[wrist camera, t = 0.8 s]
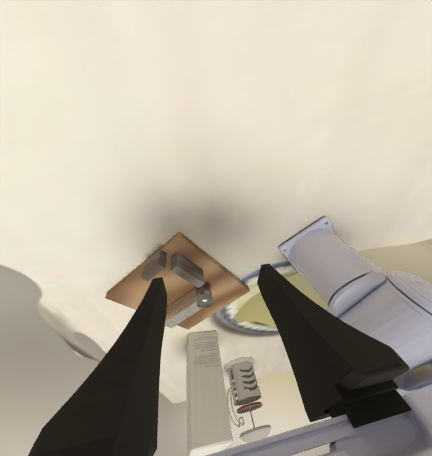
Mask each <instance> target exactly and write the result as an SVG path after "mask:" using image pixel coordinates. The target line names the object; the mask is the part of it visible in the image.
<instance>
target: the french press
mask: <svg viewBox="0 0 432 456" xmlns="http://www.w3.org/2000/svg"><path fill="white" fill-rule="evenodd" d="M253 361H254V359H253V358H251V357H243V358H238V359H235V360H232V361H230V362H229V363H227V364H226V365H225V366H224V369H225V370H227V371H228V374H229V379H230V385H231V387H230V389H231V394H232V395H233V401H234V405H244V404H247V405H244V406H242V407H240V408H239V409H238V410H237V413H245V412H247V411H250V413H251V411H253V410H254V409H255V410H256V408H260V407H261V406H262V403H261V402H254V401H256V400H258V399H260V398H261V393H260V390H259V386H257V379H255V378H256V376H255V374H254V369H252V367H253V366H252V364H253ZM241 375H244V376H241ZM233 379H234V382H233V381H232V380H233ZM242 380H243V381H242ZM233 385H234V386H235V388H234V386H233ZM230 389H229V390H230ZM245 389H249V391H248V390H245ZM229 390H228V393H229ZM234 391H236V392H237V393H236V394H235V392H234ZM228 393H227V406H228ZM236 397H238V400H236ZM230 400H231V406H232V399H230ZM251 402H254V403H251ZM248 403H250V404H248ZM232 410H233V406H232ZM228 412H229V408H228ZM233 413H234V411H233ZM229 415H230V412H229ZM234 415H235V413H234ZM230 417H231V415H230ZM235 417H236V415H235ZM251 417H252V415H251ZM241 418H242V420H243V417H240V418H239V420H240V419H241ZM236 419H237V418H236ZM231 420H232V422H233V423H234V424H235V422H234V421H233V419H232V417H231ZM237 420H238V419H237ZM239 420H238V422H239V426H238V425H237V424H235V425H236V426H237V427H240V424H241V425H244V420H243V424H242V423H241V422H240V421H239ZM252 422H253V419H252ZM253 426H254V422H253ZM270 429H271V426H270V425H264V426H260V427H256V428H255V427H254V428H253V429H250V430H247V431H245V432H243V433H241V435H240V438H241V439H242V440H243V441H245V442H247V443H250V442H253V441H257V440H260V439H264V438H266V437H267V435H268V434H269V432H270Z"/></svg>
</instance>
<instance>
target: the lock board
mask: <svg viewBox="0 0 432 456" xmlns="http://www.w3.org/2000/svg"><path fill="white" fill-rule="evenodd" d="M160 277H163V280H164V284H165V288H166V292H167V307H168V306H169V305H171V304H172V303H174V302H175V301H177V300H178V299H179V298H181V297H182V296H184V295H185V294H187V293H188V292H190V291H191V290H192V289H194V288H195V287H198V288H199V287H201V286H202V285H204V284H205V282H207V283H209V284H210V286H211V292H212V297H213V304H212V306H210V307H208V308H202V309H200V310H199V311H197V312H196V313H194V314H193V315H191V316H189V317H188V318H186V319H185V320H183V321H182V322H180V323H179V324H177V325H178V326H181V327H183V328H186V329H190V328H191V327H193V326H195V325H196V324H198V323H199V322H201V321H203V320H204V319H206V318H207V317H209V316H211V315H212V314H214V313H215V312H217V311H219V310H220V309H222V308H223V307H225V306H227V305H228V304H230V303H231V302H233V301H235V300H236V299H238V298H239V297H241V296H243V295H244V294H246V293H247V292H249V291H250V290H249V288H248V286H247V285H246V284H245V283H243V282H242V281H241V280H239V279H238V278H237V277H236V276H234V275H233V274H232V273H231V272H229V271H228V270H227V269H225V268H224V267H223V266H222V265H220V264H219V263H218V262H217V261H215V260H214V259H213V258H211V257H210V256H209V255H208V254H206V253H205V252H204V251H203V250H201V249H200V248H199V247H198V246H196V245H195V244H194V243H192V242H191V241H190V240H189V239H187V238H186V237H185V236H184V235H182V234H181V233H180V232H179V233H178V234H177V235H176V236H175V237H173V238H172V239H171V240H170V241H169V242H167V243H166V244H165V245H164V246H163V247H161V248H160V249H159V250H158V251H157V252H155V253H154V254H153V255H152V256H150V257H149V258H148V259H147V260H146V261H144V262H143V263H142V264H141V265H140V266H138V267H137V268H136V269H135V270H134V271H132V272H131V273H130V274H129V275H128V276H126V277H125V278H124V279H123V280H121V281H120V282H119V283H118V284H117V285H115V286H114V287H113V288H112V289H111V290H109V291H108V292H107V295H106V297H105V298H106V299H109V300H112V301H114V302H117V303H120V304H122V305H125V306H128V307H130V308H133V309H136V310H137V308H138V306H139V305H140V303H141V301H142V299H143V297H144V295H145V293H146V292H147V290H148V287H149V285H150V283H151V281H152V279H153V278H160Z"/></svg>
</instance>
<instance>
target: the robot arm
mask: <svg viewBox="0 0 432 456" xmlns="http://www.w3.org/2000/svg"><path fill="white" fill-rule="evenodd" d="M279 249H280V250H281V252H282V253H283V254H284V255H285V257H286V258H287V259H288V261H289V262H290V263H291V264H292V266H293V267H294V268H295V269H296V271H297V272H298V273H299V275H304V277H305V278H306V279H307V280H308V282H309V283H310V284H311V285H312V287H313V288H314V289H315V290H316V292H317V293H318V294H319V295H320V297H321V298H322V299H323V300H324V302H325V303H326V304H327V305H328V309H327V310H324V309H323V308H322V307H320V306H319V305H317V304H316V303H315V302H313V301H312V300H311V299H309V298H308V297H307V296H305V295H304V294H303V293H302V292H300V291H299V290H298V289H297V288H295V287H294V286H293V285H292V284H291V283H290V282H289V281H287V280H286V279H285V278H284V277H283V276H282V275H281V274H280V273H279V272H277V271H276V270H275V269H274V268H273V267H272V266H271V265H270V264H264V265H261V269H260V273H259V278H258V282H257V283H258V286H259V289H260V292H261V295H262V297H263V299H264V301H265V303H266V305H267V307H268V309H269V311H270V314H271V316H272V318H273V320H274V322H275V324H276V326H277V329H278V331H279V333H280V336H281V338H282V341H283V344H284V346H285V349H286V352H287V355H288V358H289V360H290V363H291V366H292V369H293V372H294V375H295V378H296V381H297V384H298V388H299V391H300V394H301V398H302V401H303V404H304V408H305V411H306V413H307V416H308V418H309V420H310V422H313V421H317V420H320V419H323V418H327V417H330V416H331V419H328V420H324V421H322V422H318V423H314V424H311V425H308V426H304V427H301V428H298V429H294V430H291V431H287V432H284V433H281V434H277V435H274V436H270V437H267V438H264V439H260V440H257V441H253V442H250V443H247V444H243V445H240V446H236V447H233V448H230V449H226V450H223V451H219V452H216V453H213V454H209V455H206V456H291V455H294V454H297V453H299V452H303V451H306V450H309V449H312V448H315V447H319V446H322V445H325V444H328V443H330V452H329V453H327V454H323V455H319V456H432V284H430V283H428V282H427V281H425V280H423V279H421V278H419V277H417V276H415V275H413V274H411V273H408V272H405V271H395V270H392V271H390V272H389V273H386V272H384V271H383V270H381V269H380V268H379V267H377V266H376V265H375V264H373V263H372V262H371V261H369V260H368V259H366V258H365V257H364V256H362V255H361V254H360V253H358V252H357V251H356V250H354V249H353V248H352V247H350V246H349V245H347V244H346V243H345V242H343V241H342V240H341V239H339V238H338V237H337V236H335V233H334V231H333V228H332V226H331V224H330V221H329V219H328V218H327V217H323V218H322V219H320V220H319V221H317V222H316V223H314V224H313V225H311V226H310V227H308V228H307V229H305V230H304V231H302V232H301V233H299V234H298V235H296V236H295V237H293V238H292V239H290V240H289V241H287V242H286V243H284V244H283V245H281V246H280V247H279ZM166 313H167V292H166V288H165V284H164V280H163V277H160V278H153V279H152V281H151V283H150V285H149V287H148V290H147V292H146V293H145V295H144V297H143V299H142V301H141V303H140V305H139V306H138V308H137V310H136V312H135V313H134V315H133V316H132V318H131V320H130V321H129V323H128V324H127V326H126V328H125V329H124V331H123V332H122V333H121V335H120V336H119V338H118V339H117V341H116V342H115V343H114V345H113V346H112V347H111V349H110V350H109V351H108V353H107V354H106V355H105V357H104V358H103V359H102V361H101V362H100V363H99V364H98V366H97V367H96V368H95V370H94V371H93V372H92V373H91V374H90V375H89V377H88V378H87V379H86V380H85V381H84V383H83V384H82V385H81V386H80V387H79V388H78V390H77V391H76V392H75V393H74V394H73V395H72V396H71V398H70V399H69V400H68V401H67V402H66V403H65V404H64V405H63V406H62V407H61V409H60V410H59V411H58V412H57V413H56V414H55V415H54V416H53V418H51V419H50V421H49V422H48V423H47V424H46V425H45V426H44V427H43V428H42V430H41V432H40V434H39V436H38V438H37V440H36V441H35V443H34V445H33V447H32V449H31V451H30V453H29V455H28V456H153V455H154V453H155V451H156V449H157V427H158V426H157V425H158V397H159V395H158V394H159V376H160V359H161V348H162V341H163V334H164V327H165V320H166Z"/></svg>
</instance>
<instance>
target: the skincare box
mask: <svg viewBox="0 0 432 456" xmlns="http://www.w3.org/2000/svg"><path fill="white" fill-rule="evenodd" d="M186 352H187V456H206V455H209V454H213V453H216V452H219V451H223V450H224V449H225V448H226V447H227V446H228V445H229V444H230V443H231V442H233V439H232V433H231V426H230V420H229V413H228V406H227V399H226V393H225V386H224V379H223V373H222V366H221V359H220V353H219V346H218V339H217V333H216V331H207V332H197V333H189V336H188V342H187V350H186Z"/></svg>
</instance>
